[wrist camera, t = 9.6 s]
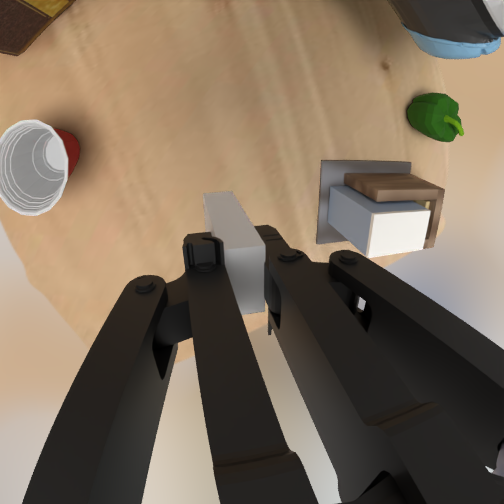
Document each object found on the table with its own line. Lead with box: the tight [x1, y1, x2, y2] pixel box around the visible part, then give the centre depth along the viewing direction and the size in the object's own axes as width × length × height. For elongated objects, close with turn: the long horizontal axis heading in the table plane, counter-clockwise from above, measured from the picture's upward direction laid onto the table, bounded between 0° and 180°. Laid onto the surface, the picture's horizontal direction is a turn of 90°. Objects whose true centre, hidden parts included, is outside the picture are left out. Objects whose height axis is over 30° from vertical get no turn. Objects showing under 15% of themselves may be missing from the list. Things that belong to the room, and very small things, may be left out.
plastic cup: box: [0, 120, 80, 216], centre depth 31 cm, size 11×11×12 cm
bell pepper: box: [407, 93, 464, 142], centre depth 41 cm, size 8×8×10 cm
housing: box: [316, 160, 445, 249], centre depth 47 cm, size 14×18×10 cm
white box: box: [328, 186, 431, 258], centre depth 44 cm, size 6×10×13 cm, turn 91°
